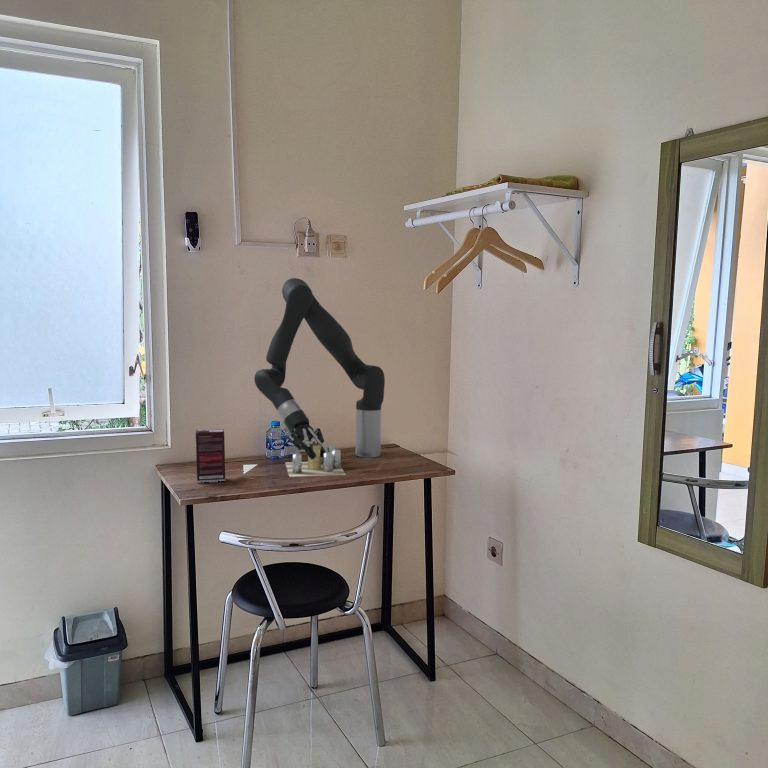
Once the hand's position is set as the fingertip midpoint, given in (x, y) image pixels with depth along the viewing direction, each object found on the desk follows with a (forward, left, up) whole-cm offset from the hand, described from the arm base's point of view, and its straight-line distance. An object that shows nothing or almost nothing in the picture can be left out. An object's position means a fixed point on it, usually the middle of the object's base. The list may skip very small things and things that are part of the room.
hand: (318, 456), depth 229 cm
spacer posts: (-3, -1, -4) cm, 5 cm away
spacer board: (-1, -1, -5) cm, 6 cm away
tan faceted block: (-1, -1, -4) cm, 5 cm away
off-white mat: (-3, -19, -5) cm, 20 cm away
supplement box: (+7, -34, -5) cm, 35 cm away
